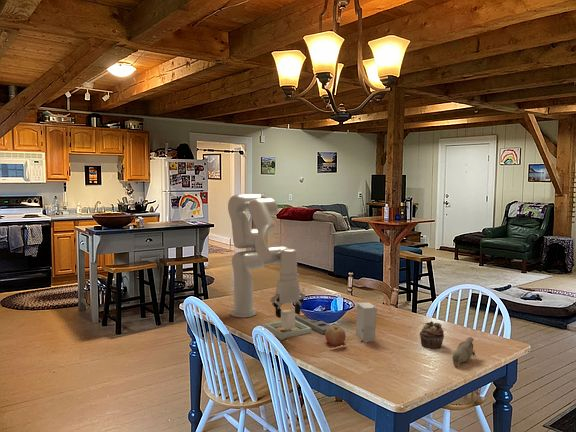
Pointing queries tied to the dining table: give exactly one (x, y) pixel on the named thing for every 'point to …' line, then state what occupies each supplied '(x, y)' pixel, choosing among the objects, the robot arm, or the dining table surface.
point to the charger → (288, 320)
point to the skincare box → (366, 321)
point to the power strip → (313, 323)
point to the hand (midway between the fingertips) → (287, 315)
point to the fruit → (335, 335)
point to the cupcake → (432, 335)
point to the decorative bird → (463, 352)
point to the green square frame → (283, 335)
